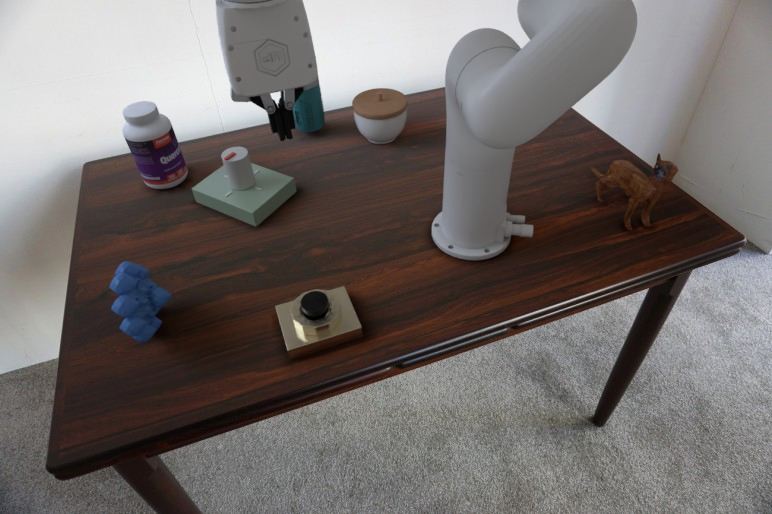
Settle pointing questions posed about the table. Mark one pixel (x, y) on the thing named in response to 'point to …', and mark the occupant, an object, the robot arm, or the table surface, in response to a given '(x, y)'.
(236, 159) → the dial
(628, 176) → the cat figurine
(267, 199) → the dial panel
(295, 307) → the button box
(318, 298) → the button
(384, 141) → the trinket box
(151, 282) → the blue lumpy lobed piece
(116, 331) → the table surface
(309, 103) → the beverage bottle
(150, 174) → the pill bottle
